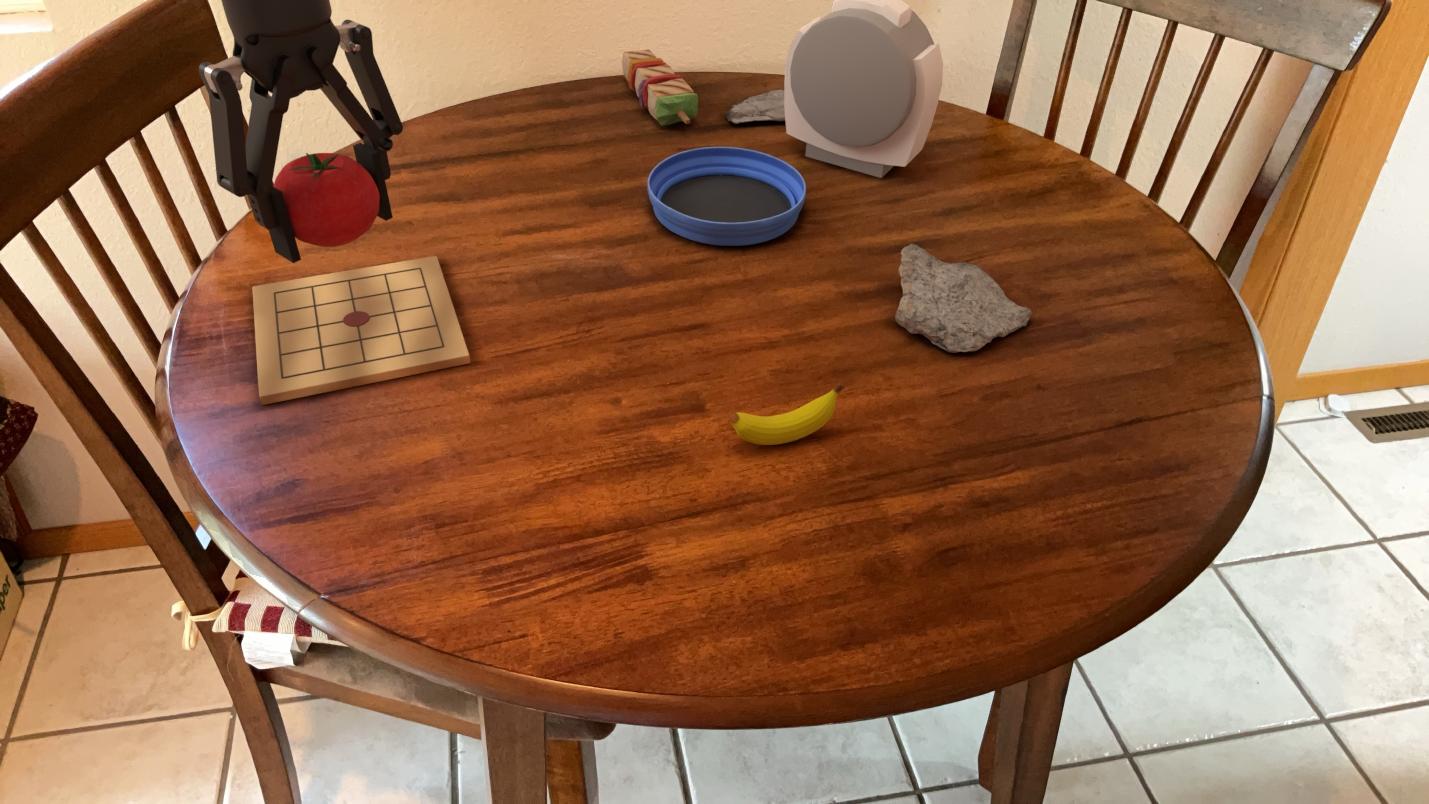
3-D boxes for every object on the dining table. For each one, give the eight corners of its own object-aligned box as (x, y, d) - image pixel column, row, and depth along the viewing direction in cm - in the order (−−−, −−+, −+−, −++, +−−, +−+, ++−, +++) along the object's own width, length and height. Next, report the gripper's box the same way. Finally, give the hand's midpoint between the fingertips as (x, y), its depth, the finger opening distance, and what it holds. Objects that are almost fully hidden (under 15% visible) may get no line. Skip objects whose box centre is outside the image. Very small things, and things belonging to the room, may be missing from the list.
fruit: (832, 418, 85) (838, 374, 82) (842, 434, 84) (850, 389, 81) (723, 443, 83) (725, 398, 79) (732, 460, 81) (735, 414, 78)
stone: (731, 128, 129) (731, 122, 129) (715, 98, 136) (715, 93, 136) (880, 117, 133) (881, 112, 133) (857, 89, 140) (858, 84, 140)
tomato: (355, 270, 83) (335, 185, 78) (262, 254, 84) (236, 169, 79) (404, 219, 89) (388, 138, 84) (317, 205, 91) (296, 124, 86)
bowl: (619, 226, 109) (618, 197, 107) (690, 161, 122) (690, 134, 120) (767, 267, 104) (770, 238, 101) (825, 194, 116) (828, 167, 114)
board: (261, 405, 84) (258, 396, 84) (254, 294, 97) (251, 285, 96) (470, 363, 90) (469, 354, 89) (438, 263, 102) (436, 254, 102)
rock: (941, 332, 89) (866, 240, 99) (926, 367, 92) (854, 274, 101) (1056, 323, 94) (974, 236, 104) (1038, 356, 97) (960, 268, 107)
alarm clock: (929, 165, 123) (961, 0, 110) (904, 191, 118) (934, 22, 104) (802, 129, 130) (818, -30, 117) (773, 153, 124) (785, -11, 111)
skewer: (615, 81, 140) (614, 47, 137) (657, 76, 142) (657, 42, 139) (663, 143, 126) (663, 105, 122) (710, 136, 127) (711, 99, 124)
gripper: (152, 17, 64) (248, 302, 78) (418, -52, 77) (458, 203, 92) (96, -9, 67) (198, 268, 82) (360, -71, 80) (407, 178, 95)
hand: (335, 234), depth 87 cm, fingers closed on tomato, 9 cm apart
